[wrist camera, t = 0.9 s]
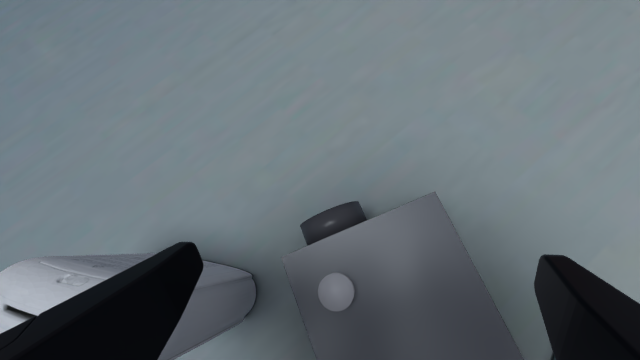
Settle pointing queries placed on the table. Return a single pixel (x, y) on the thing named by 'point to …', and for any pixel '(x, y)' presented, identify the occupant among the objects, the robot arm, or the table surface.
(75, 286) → the photo printer
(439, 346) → the box
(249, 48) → the table surface
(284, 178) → the table surface
